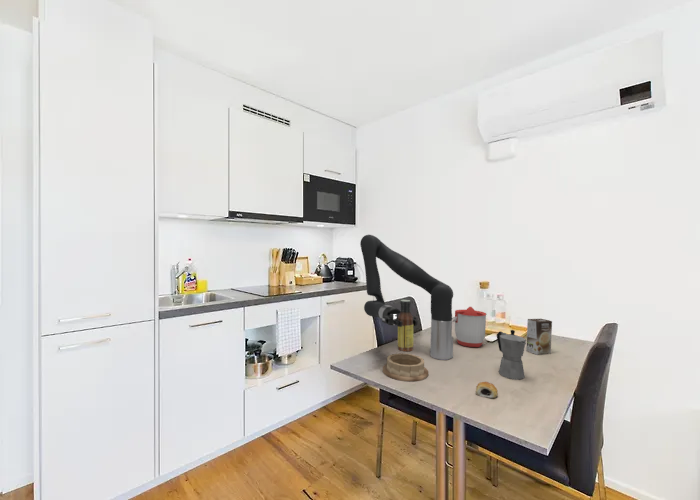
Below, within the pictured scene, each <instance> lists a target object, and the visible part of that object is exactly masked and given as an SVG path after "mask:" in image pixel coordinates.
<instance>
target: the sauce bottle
mask: <svg viewBox="0 0 700 500" xmlns="http://www.w3.org/2000/svg"><path fill="white" fill-rule="evenodd" d="M399 301H400V302H399V303H400V311H401V312H400V314H399V315H398V320H400V321H402V327H399V326H397V348H398V350H399V351H400V352H404V353H408V352H409V353H410V352H413V350H414V325H413V316H414V315H413V316H412V311H411V303H412V302H411V300H410V299H401V300H399Z"/></svg>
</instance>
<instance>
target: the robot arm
mask: <svg viewBox="0 0 700 500" xmlns="http://www.w3.org/2000/svg"><path fill="white" fill-rule="evenodd" d="M359 244H360V248H361V253H362V257H363V264H364V270H365V281H366V282H365V284H366V295H368V296H370V297H371V296H372V297H374V298H375V300H374V299H373V300H367V301H366V302H365V304H364V306H363V311H364V312H365V314H366V315H367V316H368V317H369V316H370V317H373V318H378V319H380V320H381V321H382V323H383V324H386V325H388V326H397V327H398V326H399V327H402V321H400V320H398V315H399V314H400V312H401V309H399V308H396V307H394V306H392V305H388V304H386V302H385V298H384V297H383V293H382V288H381V287H382V285H381V277H380V273H379V269H378V264H377V259H379V260H380V261H382V262H383V263H384V264H385V265H386V266H387V267H388V268H389V269H390V270H391V271H393V273H395V274H396V275H397V276H399V277H400V278H402V279H403V280H405V281H407V282H408V283H410V284H413V285H415V286H418V287H420V288H421V289H423V290H424V291H425V292H427V293H428V294H429V295H430V316H431V317H430V320H431V321H430V347H429V348H430V349H429V350H430V352H429V353H430V354H429V355H430V357H431V358H433V359H435V360H442V361H444V360H445V361H447V360H450V359H453V358H454V336H452V334H453V331H452V329H453V322H452V318H453V313H452V309H453V306H452V305H453V297H454V291H453V289H452V288H451V286H450V285H448V284H446V283H444V282H442V281H440V280H439V279H437V278H435V277H434V276H432V275H430V274H429V273H428V272H426V271H425V270H424V269H423V268H422V267H420V266H419V265H418V264H416V263H415V262H414V261H412V260H411V259H410V258H408V257H406V256H405V255H402V254H400V253H399V252H396V251H394V250H393V249H391V248H390V247H389V246H387V245H386V244H385V243H383V242H382V241H381V239H379V238H378V237H377V236H374V235H373V234H366V235H364V236H362V237H361V239H360V243H359ZM412 316H413V327H417V326H418V320H417V317H416V316H414V315H412Z"/></svg>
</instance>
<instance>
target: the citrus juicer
mask: <svg viewBox="0 0 700 500" xmlns="http://www.w3.org/2000/svg"><path fill="white" fill-rule="evenodd" d="M486 317H487V312H484V311H482V310H481V311H480V310H475V309H474V308H473V306H468V307H467V308H466V309H455V310H454V316H452V323H453V322H454V333H455V338H456V342H457V343H458V344H459V345H461V346H462V347H469V348H481V347H482V345H483V343H484V340H485V335H486V327H487V326H486V324H487V323H486V322H487V321H486V320H487V318H486Z"/></svg>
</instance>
